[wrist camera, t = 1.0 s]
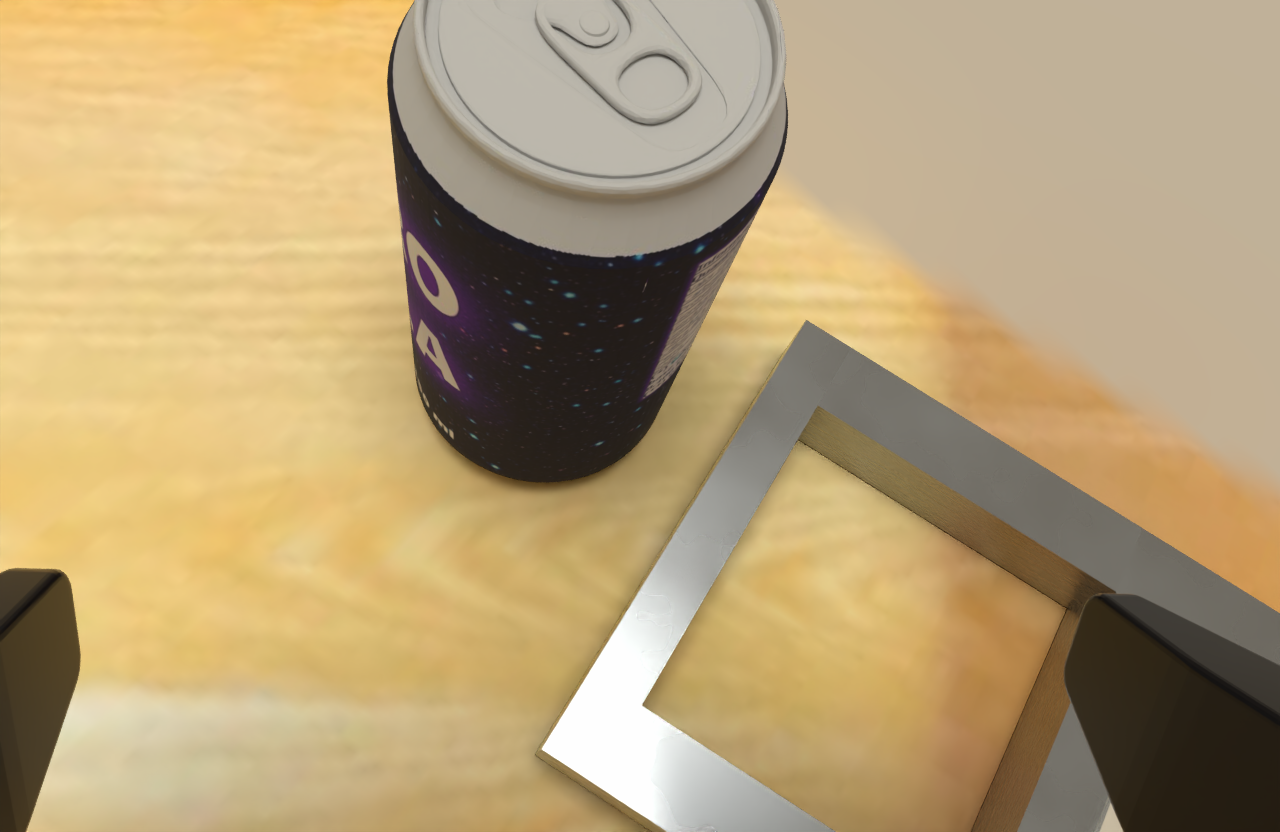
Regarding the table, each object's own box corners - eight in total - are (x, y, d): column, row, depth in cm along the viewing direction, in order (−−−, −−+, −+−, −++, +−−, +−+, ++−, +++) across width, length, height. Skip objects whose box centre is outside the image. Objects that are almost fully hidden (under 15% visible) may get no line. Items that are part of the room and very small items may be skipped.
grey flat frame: (1283, 667, 25) (1354, 654, 23) (1124, 1143, 21) (1195, 1177, 19) (781, 355, 26) (808, 316, 24) (534, 754, 22) (542, 748, 20)
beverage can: (547, 228, 26) (612, -200, 15) (707, 389, 25) (900, 61, 14) (364, 365, 24) (285, -12, 13) (531, 545, 23) (597, 304, 12)
